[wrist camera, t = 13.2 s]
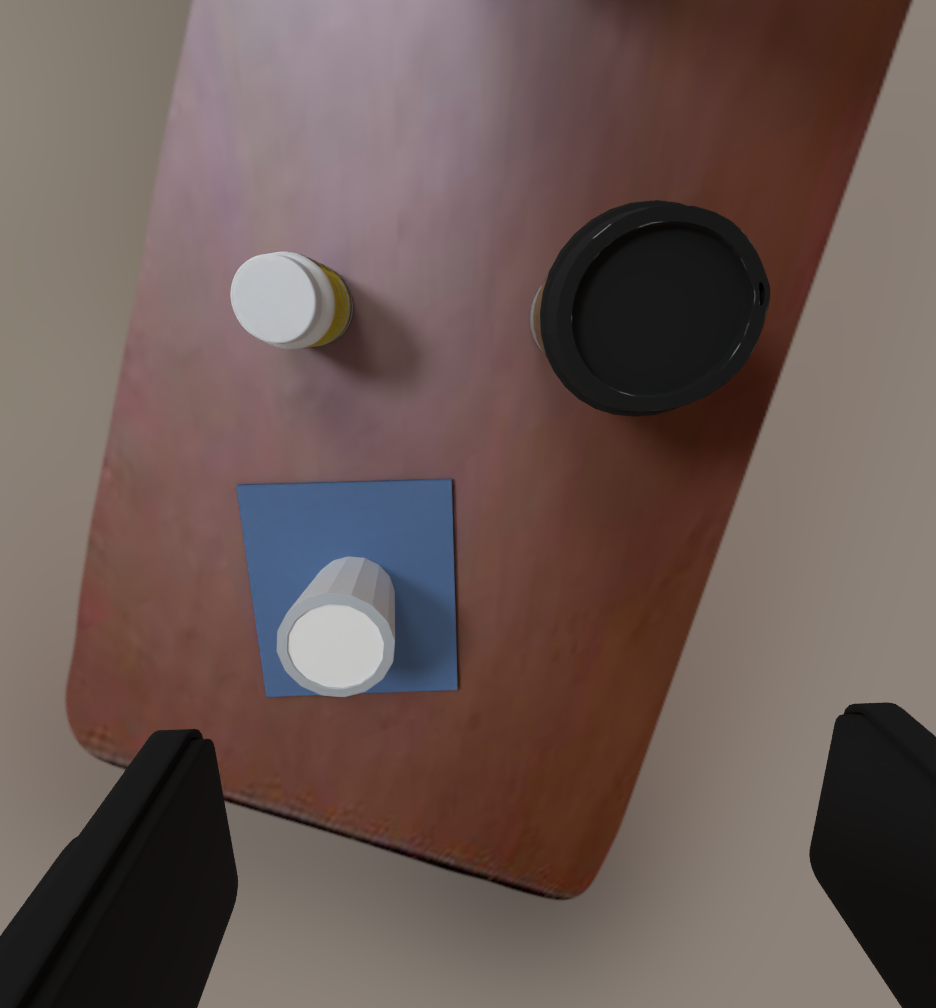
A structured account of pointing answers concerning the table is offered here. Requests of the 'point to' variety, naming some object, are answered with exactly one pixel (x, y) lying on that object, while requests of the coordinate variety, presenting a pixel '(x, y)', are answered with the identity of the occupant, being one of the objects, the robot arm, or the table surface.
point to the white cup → (340, 629)
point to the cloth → (366, 534)
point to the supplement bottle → (291, 300)
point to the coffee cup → (651, 307)
